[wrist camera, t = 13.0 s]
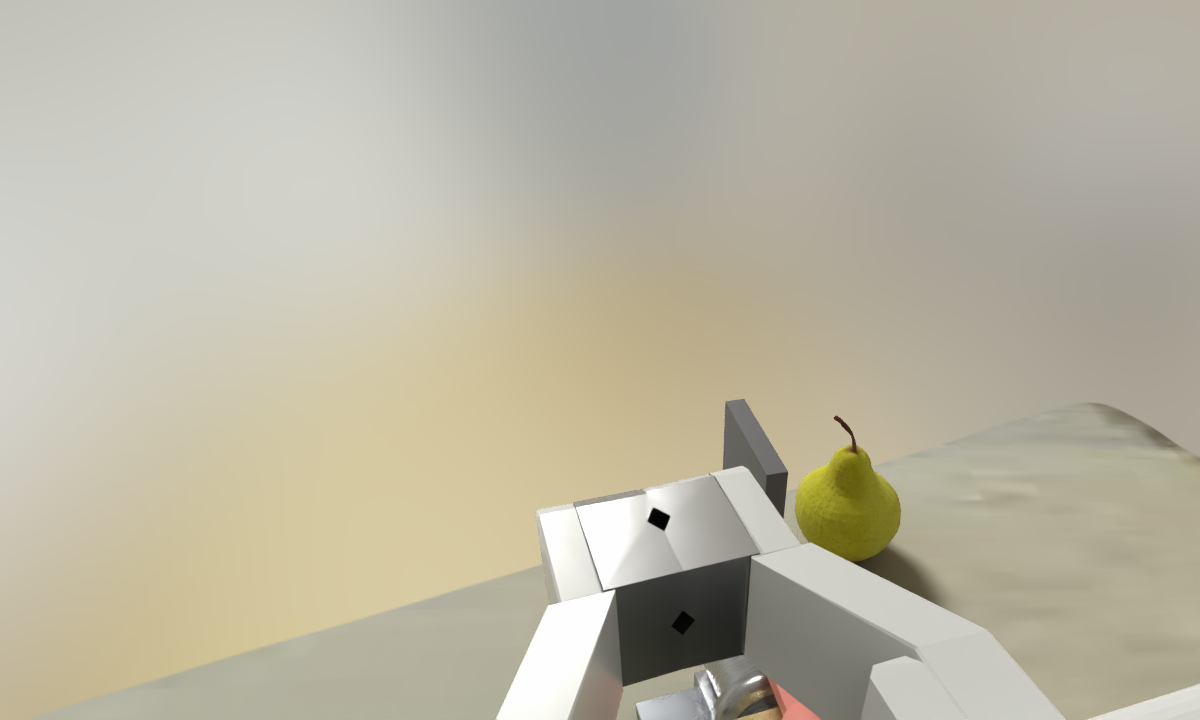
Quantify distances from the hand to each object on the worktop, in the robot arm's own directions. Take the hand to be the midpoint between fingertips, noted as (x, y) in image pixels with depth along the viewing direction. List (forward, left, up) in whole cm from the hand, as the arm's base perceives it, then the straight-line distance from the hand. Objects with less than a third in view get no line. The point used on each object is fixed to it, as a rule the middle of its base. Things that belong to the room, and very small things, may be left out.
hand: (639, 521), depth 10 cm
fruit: (+22, +25, -32) cm, 46 cm away
